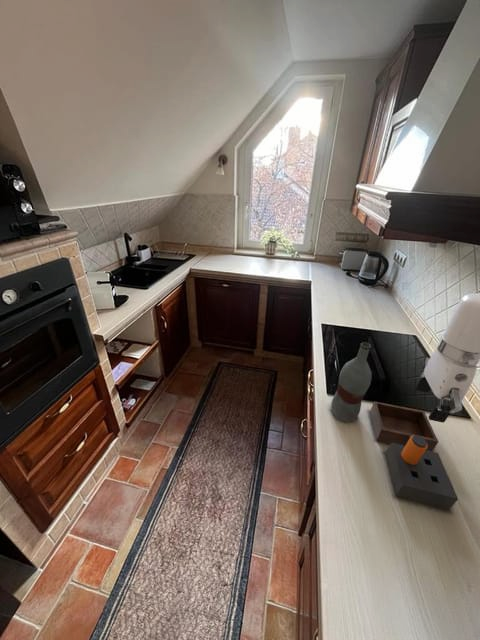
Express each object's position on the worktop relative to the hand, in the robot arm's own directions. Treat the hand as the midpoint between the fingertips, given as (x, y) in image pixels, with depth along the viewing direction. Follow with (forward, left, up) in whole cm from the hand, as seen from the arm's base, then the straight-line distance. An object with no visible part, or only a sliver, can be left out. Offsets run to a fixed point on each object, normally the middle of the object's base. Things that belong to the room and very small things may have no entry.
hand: (428, 404), depth 64 cm
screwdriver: (-1, +3, -24) cm, 24 cm away
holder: (-3, +5, -24) cm, 25 cm away
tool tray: (-3, -11, -24) cm, 26 cm away
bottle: (+14, -14, -24) cm, 31 cm away
